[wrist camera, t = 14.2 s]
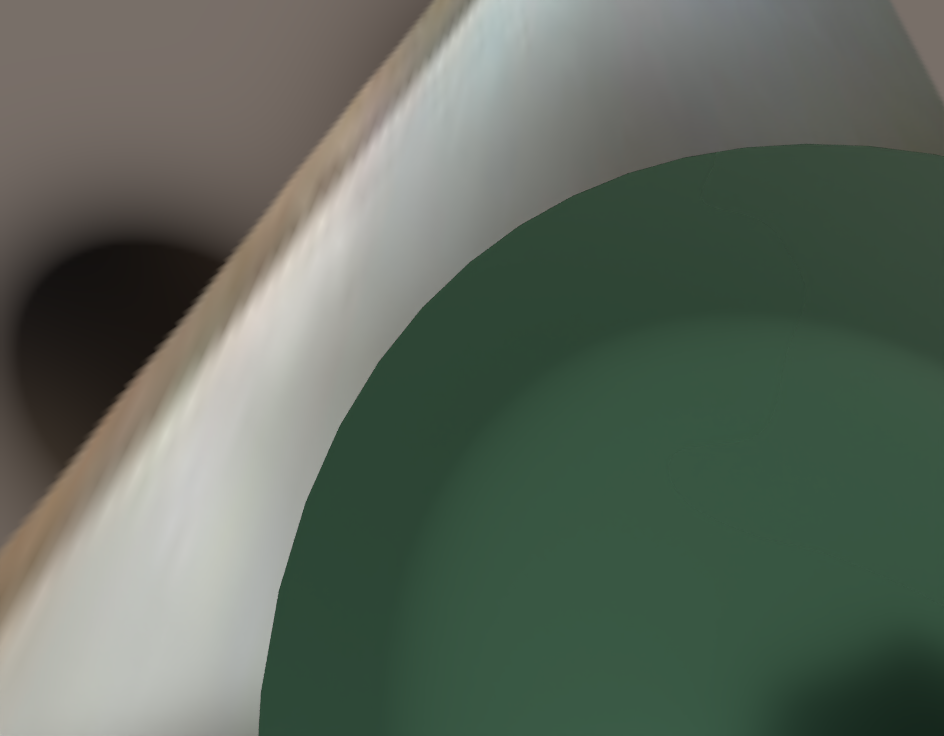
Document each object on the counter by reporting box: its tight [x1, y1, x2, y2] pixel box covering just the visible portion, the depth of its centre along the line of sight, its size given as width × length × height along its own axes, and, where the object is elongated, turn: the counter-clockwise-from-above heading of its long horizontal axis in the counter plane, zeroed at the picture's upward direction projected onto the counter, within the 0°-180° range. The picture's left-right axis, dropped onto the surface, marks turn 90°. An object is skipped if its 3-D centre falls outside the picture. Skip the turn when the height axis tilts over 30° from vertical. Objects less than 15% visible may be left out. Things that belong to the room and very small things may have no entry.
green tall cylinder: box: [259, 144, 944, 736], centre depth 8 cm, size 5×5×13 cm
